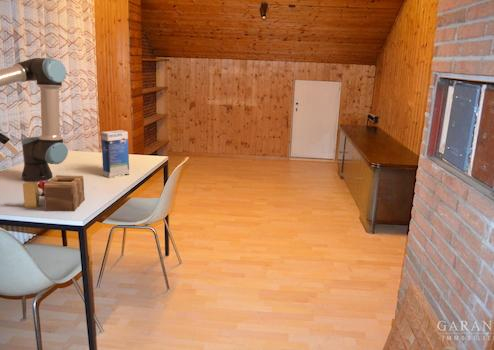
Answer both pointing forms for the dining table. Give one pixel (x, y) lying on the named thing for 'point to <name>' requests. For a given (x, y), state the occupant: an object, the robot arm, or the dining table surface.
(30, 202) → the tan rectangular block
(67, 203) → the wooden box with opening
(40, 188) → the multicolored rounded segment toy
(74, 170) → the dining table surface
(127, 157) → the string lights box
